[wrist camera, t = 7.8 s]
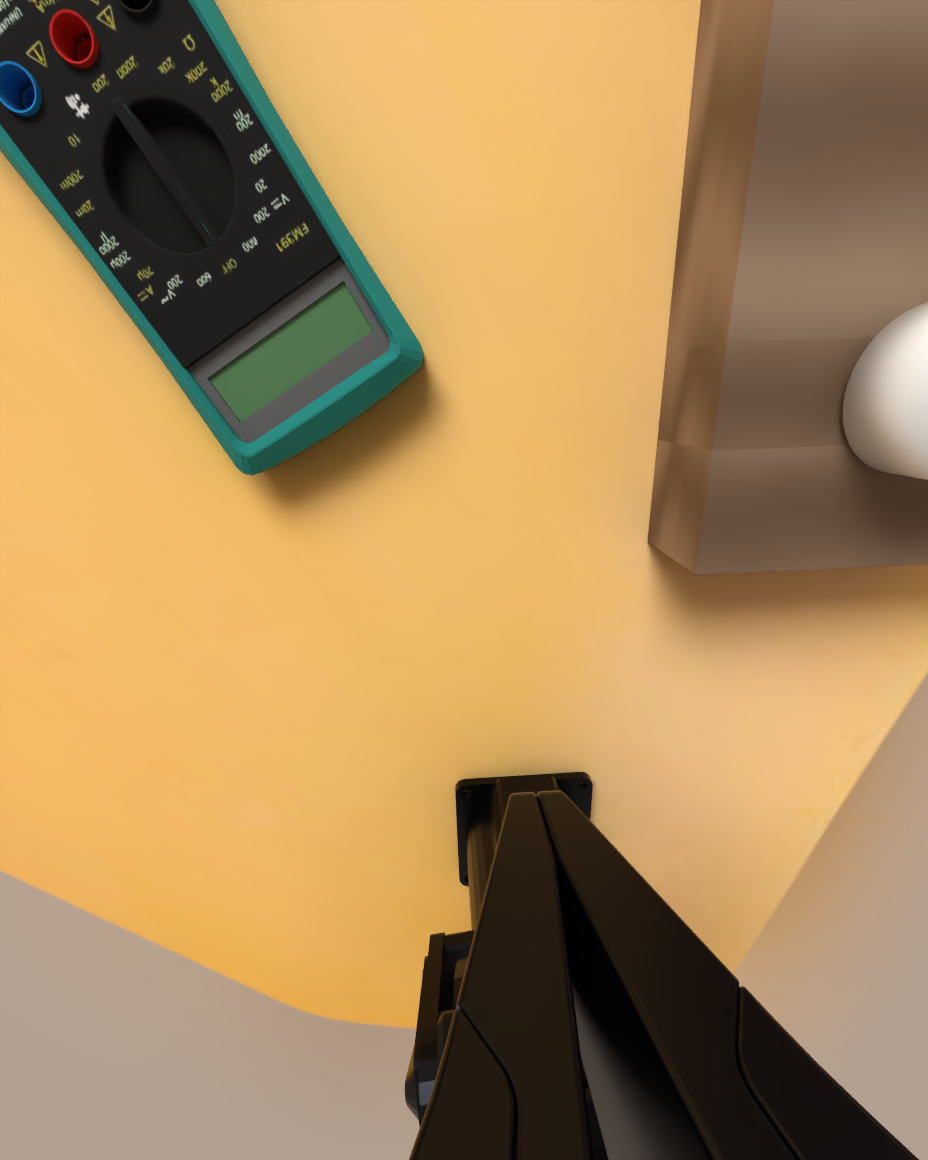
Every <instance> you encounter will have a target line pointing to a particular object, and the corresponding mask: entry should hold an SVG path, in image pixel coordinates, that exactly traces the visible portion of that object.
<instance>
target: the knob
mask: <svg viewBox="0 0 928 1160" xmlns="http://www.w3.org/2000/svg"><path fill="white" fill-rule="evenodd" d="M843 426H844V431H845V435H846V438H847V440H848V443H849V445H850V447H851V448H852V450H853V452H854V453H855V454H856V455H857V456H858V458H859V459H860V460H861V461H863V462H864V463H865V464H866V465H868V466H870V467H872V468H873V469H876V470H878V471H881V472H885V473H891V474H897V475H902V476H908V477H914V478H919V479H925V480H928V302H926V303H923V304H921V305H918V306H916V307H914V308H912V309H910V310H908V311H906V312H904V313H903V314H901V315H900V316H898V317H897V318H895V319H894V320H893V321H891V322H890V323H889V324H888V325H887V326H885V327H884V328H883V329H882V330H881V331H880V332H879V333H878V334H877V335H876V336H875V337H874V338H873V340H872V341H871V342H870V343H869V345H868V346H867V347H866V349H865V350H864V352H863V353H862V355H861V356H860V358H859V359H858V361H857V363H856V365H855V367H854V369H853V371H852V373H851V376H850V378H849V381H848V384H847V388H846V391H845V396H844V402H843Z"/></svg>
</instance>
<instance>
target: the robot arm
mask: <svg viewBox="0 0 928 1160" xmlns="http://www.w3.org/2000/svg"><path fill="white" fill-rule="evenodd" d="M581 782H584V783H583V784H580V785H579V783H581ZM592 787H593V785H592V781H591V779H590V776H589V775H588V774H587V773H585V772H572V773H556V774H540V775H524V776H507V777H491V778H475V779H464V780H461V781H459V782H458V783H457V784H456V787H455V793H456V814H457V835H458V856H459V877H460V882H461V883H462V884H463V885H465V886H469V894H470V909H471V925H472V931H466V932H460V933H454V934H448V935H445V933H438V934H432V935H430V943H429V952H428V956H426V957H425V961H424V969H423V978H422V987H421V996H420V1004H419V1013H418V1021H417V1030H416V1039H415V1045H414V1049H413V1053H412V1057H411V1061H410V1065H409V1069H408V1072H407V1076H406V1081H405V1098H406V1104H407V1106H408V1108H409V1109H410V1110H411V1111H412V1113H413V1114H414V1115H415V1117H416V1118H417V1119H418V1120H419V1125H420V1129H419V1132H418V1135H417V1138H416V1141H415V1144H414V1147H413V1149H412V1153H411V1155H410V1158H409V1160H919V1159H918V1158H917V1157H915V1156H914V1155H913V1154H912V1153H911V1152H910V1151H909V1150H908V1149H907V1148H906V1147H905V1146H904V1145H903V1144H902V1143H900V1142H899V1141H898V1140H897V1139H896V1138H895V1137H894V1136H893V1135H892V1134H891V1133H890V1132H889V1131H888V1130H887V1129H885V1128H884V1127H883V1126H882V1125H881V1124H880V1123H879V1122H878V1121H877V1120H876V1119H875V1118H874V1117H873V1116H872V1115H871V1114H869V1112H867V1111H866V1110H865V1109H864V1108H863V1107H862V1106H861V1105H860V1104H859V1103H858V1102H857V1101H856V1100H855V1099H854V1098H853V1097H852V1096H851V1095H850V1094H849V1093H848V1092H847V1091H846V1090H845V1089H844V1088H843V1087H842V1086H840V1085H839V1084H838V1083H837V1082H836V1081H835V1080H834V1079H833V1078H832V1077H831V1076H830V1075H829V1074H828V1073H827V1072H826V1071H825V1070H824V1069H823V1068H822V1067H821V1066H820V1065H819V1064H818V1063H817V1062H816V1061H815V1060H814V1059H813V1058H812V1057H811V1056H810V1055H809V1054H808V1053H807V1052H806V1051H805V1050H804V1049H803V1048H802V1047H801V1046H800V1045H799V1044H798V1043H797V1042H796V1040H794V1039H793V1037H792V1036H791V1035H789V1033H788V1032H787V1031H786V1030H785V1029H784V1028H783V1027H782V1026H781V1025H780V1024H779V1023H778V1022H777V1021H776V1020H775V1019H774V1018H773V1017H772V1016H771V1015H770V1014H769V1013H768V1011H767V1010H766V1009H765V1008H764V1007H763V1006H762V1005H761V1004H760V1003H759V1002H758V1001H757V1000H756V999H755V997H754V996H753V995H752V994H751V993H750V992H749V991H748V990H747V989H746V988H745V987H743V986H741V987H740V988H739V981H738V979H737V978H736V977H735V976H734V975H733V974H732V973H731V972H730V971H729V970H728V969H727V967H726V966H725V965H724V964H723V963H722V962H721V961H720V960H719V959H718V958H717V957H716V956H715V955H714V954H713V952H712V951H711V950H710V949H709V948H708V947H707V946H706V945H705V944H704V943H703V942H702V941H701V940H700V938H699V937H698V936H697V935H696V934H695V933H694V932H693V931H692V930H691V929H690V928H689V927H688V926H687V924H686V923H685V922H684V921H683V920H682V919H681V918H680V917H679V916H678V915H677V914H676V913H675V912H674V910H673V909H672V908H671V907H670V906H669V905H668V904H667V903H666V902H665V901H664V900H663V899H662V898H661V896H660V895H659V894H658V893H657V892H656V891H655V890H654V889H653V888H652V887H651V886H650V885H649V884H648V882H647V881H646V880H645V879H644V878H643V877H642V876H641V875H640V874H639V873H638V872H637V871H636V870H635V869H634V867H633V866H632V865H631V864H630V863H629V862H628V861H627V860H626V859H625V858H624V857H623V856H622V855H621V853H620V852H619V851H618V850H617V849H616V848H615V847H614V846H613V845H612V844H611V843H610V842H609V841H608V839H607V838H606V837H605V836H604V835H603V834H602V833H601V832H600V831H599V830H598V829H597V828H596V827H595V825H594V824H593V823H592V822H591V821H590V814H591V801H592ZM465 789H467V790H469V791H467V792H464V791H463V790H465Z"/></svg>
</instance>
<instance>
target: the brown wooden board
mask: <svg viewBox="0 0 928 1160" xmlns="http://www.w3.org/2000/svg"><path fill="white" fill-rule="evenodd" d="M926 302H928V0H701V10H700V20H699V30H698V40H697V50H696V60H695V70H694V80H693V90H692V100H691V110H690V120H689V131H688V141H687V151H686V161H685V171H684V181H683V191H682V201H681V211H680V221H679V231H678V241H677V251H676V262H675V272H674V282H673V292H672V302H671V312H670V322H669V332H668V342H667V352H666V362H665V372H664V382H663V392H662V403H661V413H660V423H659V433H658V443H657V453H656V463H655V473H654V483H653V493H652V503H651V513H650V523H649V534H648V542H649V543H650V544H652V545H653V546H654V547H656V548H657V549H659V550H660V551H662V552H663V553H664V554H666V555H667V556H669V557H670V558H672V559H673V560H674V561H676V562H677V563H679V564H680V565H682V566H683V567H684V568H686V569H687V570H689V571H690V572H692V573H693V574H694V575H708V574H729V573H750V572H771V571H792V570H812V569H833V568H854V567H875V566H896V565H917V564H928V480H925V479H919V478H914V477H908V476H902V475H897V474H891V473H885V472H881V471H878V470H876V469H873V468H872V467H870V466H868V465H866V464H865V463H864V462H863V461H861V460H860V459H859V458H858V456H857V455H856V454H855V453H854V452H853V450H852V448H851V447H850V445H849V443H848V440H847V438H846V435H845V431H844V426H843V402H844V396H845V391H846V388H847V384H848V381H849V378H850V376H851V373H852V371H853V369H854V367H855V365H856V363H857V361H858V359H859V358H860V356H861V355H862V353H863V352H864V350H865V349H866V347H867V346H868V345H869V343H870V342H871V341H872V340H873V338H874V337H875V336H876V335H877V334H878V333H879V332H880V331H881V330H882V329H883V328H884V327H885V326H887V325H888V324H889V323H890V322H891V321H893V320H894V319H895V318H897V317H898V316H900V315H901V314H903V313H904V312H906V311H908V310H910V309H912V308H914V307H916V306H918V305H921V304H923V303H926Z"/></svg>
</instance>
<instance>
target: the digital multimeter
mask: <svg viewBox="0 0 928 1160" xmlns="http://www.w3.org/2000/svg"><path fill="white" fill-rule="evenodd" d="M188 1H189V2H188ZM190 4H191V5H190ZM191 6H192V7H191ZM193 9H194V10H193ZM194 11H195V12H194ZM196 14H197V15H196ZM197 16H198V17H197ZM199 19H200V20H199ZM200 21H201V22H200ZM202 24H203V25H202ZM203 26H204V27H203ZM206 31H207V32H206ZM209 36H210V37H209ZM212 41H213V42H212ZM215 46H216V47H215ZM218 51H219V52H218ZM221 56H222V57H221ZM171 92H172V93H171ZM174 93H175V94H174ZM189 100H190V101H189ZM211 118H212V119H213V120H214V121H215V122H214V121H213V120H212V119H211ZM222 132H223V133H222ZM224 135H225V136H224ZM96 140H97V141H96ZM231 148H232V149H231ZM0 150H1V152H2V153H3V154H4V155H5V157H6V158H7V159H8V160H9V162H10V163H11V164H12V165H13V167H14V168H15V169H16V170H17V172H18V173H19V174H20V175H21V177H22V178H23V179H24V180H25V182H26V183H27V184H28V185H29V187H30V188H31V189H32V190H33V192H34V193H35V194H36V196H37V197H38V198H39V199H40V201H41V202H42V203H43V204H44V206H45V207H46V208H47V209H48V211H49V212H50V213H51V214H52V216H53V217H54V218H55V219H56V221H57V222H58V223H59V224H60V226H61V227H62V228H63V229H64V231H65V232H66V233H67V234H68V236H69V237H70V238H71V239H72V241H73V242H74V243H75V244H76V246H77V247H78V248H79V250H80V251H81V252H82V254H83V255H84V256H85V258H86V259H87V260H88V262H89V263H90V264H91V266H92V267H93V268H94V270H95V271H96V272H97V274H98V275H99V276H100V278H101V279H102V280H103V282H104V283H105V284H106V286H107V287H108V288H109V290H110V291H111V292H112V294H113V295H114V297H115V298H116V299H117V301H118V302H119V303H120V305H121V306H122V307H123V309H124V310H125V311H126V313H127V314H128V315H129V317H130V318H131V319H132V321H133V322H134V323H135V325H136V326H137V327H138V329H139V330H140V331H141V333H142V334H143V335H144V337H145V338H146V340H147V341H148V342H149V344H150V345H151V346H152V348H153V349H154V350H155V352H156V353H157V354H158V356H159V357H160V359H161V360H162V361H163V363H164V364H165V366H166V367H167V369H168V370H169V371H170V373H171V374H172V376H173V377H174V379H175V380H176V381H177V383H178V384H179V386H180V387H181V389H182V390H183V391H184V393H185V394H186V396H187V397H188V399H189V400H190V401H191V403H192V404H193V406H194V407H195V409H196V410H197V411H198V413H199V414H200V416H201V417H202V419H203V420H204V421H205V423H206V424H207V426H208V427H209V429H210V430H211V431H212V433H213V434H214V436H215V437H216V439H217V440H218V441H219V443H220V444H221V446H222V447H223V448H224V450H225V451H226V453H227V454H228V456H229V457H230V458H231V460H232V461H233V463H234V464H235V466H236V467H237V468H238V469H239V470H240V471H242V472H243V473H244V474H249V475H254V474H258V473H260V472H263V471H265V470H267V469H270V468H272V467H274V466H276V465H278V464H280V463H282V462H284V461H285V460H287V459H289V458H291V457H293V456H295V455H296V454H298V453H300V452H302V451H304V450H306V449H307V448H309V447H311V446H312V445H314V444H316V443H318V442H319V441H321V440H323V439H324V438H326V437H328V436H330V435H331V434H333V433H334V432H336V431H337V430H339V429H341V428H342V427H344V426H345V425H347V424H348V423H350V422H351V421H353V420H354V419H356V418H357V417H359V416H360V415H362V414H363V413H364V412H366V411H367V410H368V409H370V408H371V407H372V406H373V405H375V404H376V403H377V402H379V401H380V400H381V399H383V398H384V397H385V396H387V395H388V394H389V393H391V392H392V391H393V390H394V389H396V388H397V387H398V386H399V385H401V384H402V383H403V382H404V381H406V380H407V379H408V378H409V377H411V376H412V375H413V374H414V373H416V372H417V371H418V370H419V369H420V367H421V366H422V365H423V361H424V354H423V351H422V347H421V345H420V343H419V341H418V340H417V338H416V336H415V335H414V333H413V332H412V330H411V329H410V327H409V325H408V324H407V322H406V321H405V319H404V318H403V316H402V314H401V313H400V311H399V310H398V308H397V307H396V305H395V303H394V302H393V300H392V299H391V297H390V296H389V294H388V292H387V291H386V289H385V288H384V286H383V285H382V283H381V281H380V280H379V278H378V277H377V275H376V274H375V272H374V270H373V269H372V267H371V266H370V264H369V263H368V261H367V259H366V258H365V256H364V255H363V253H362V252H361V250H360V248H359V247H358V245H357V244H356V242H355V241H354V239H353V237H352V236H351V234H350V233H349V231H348V230H347V228H346V226H345V225H344V223H343V222H342V220H341V218H340V217H339V215H338V213H337V212H336V210H335V208H334V207H333V205H332V203H331V202H330V200H329V198H328V197H327V195H326V193H325V192H324V190H323V188H322V187H321V185H320V183H319V182H318V180H317V178H316V177H315V175H314V173H313V172H312V170H311V168H310V167H309V165H308V163H307V162H306V160H305V158H304V157H303V155H302V153H301V152H300V150H299V148H298V147H297V145H296V143H295V142H294V140H293V138H292V137H291V135H290V133H289V132H288V130H287V128H286V127H285V125H284V123H283V122H282V120H281V118H280V117H279V115H278V113H277V112H276V110H275V108H274V107H273V105H272V103H271V101H270V99H269V98H268V96H267V94H266V92H265V91H264V89H263V87H262V85H261V83H260V82H259V80H258V78H257V76H256V74H255V73H254V71H253V69H252V67H251V65H250V64H249V62H248V60H247V58H246V57H245V55H244V53H243V51H242V49H241V48H240V46H239V44H238V42H237V40H236V39H235V37H234V35H233V33H232V31H231V30H230V28H229V26H228V24H227V22H226V21H225V19H224V17H223V15H222V14H221V12H220V10H219V8H218V6H217V5H216V3H215V1H214V0H0ZM232 150H233V151H232ZM238 168H239V169H238ZM96 173H97V174H96ZM100 189H101V190H100ZM101 192H102V193H101ZM309 203H310V204H309ZM107 206H108V207H107ZM312 208H313V209H312ZM315 213H316V214H315ZM318 218H319V219H318ZM115 219H116V220H115ZM118 223H119V224H118ZM321 223H322V224H321ZM324 228H325V229H324ZM138 243H139V244H140V245H139V244H138Z"/></svg>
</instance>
